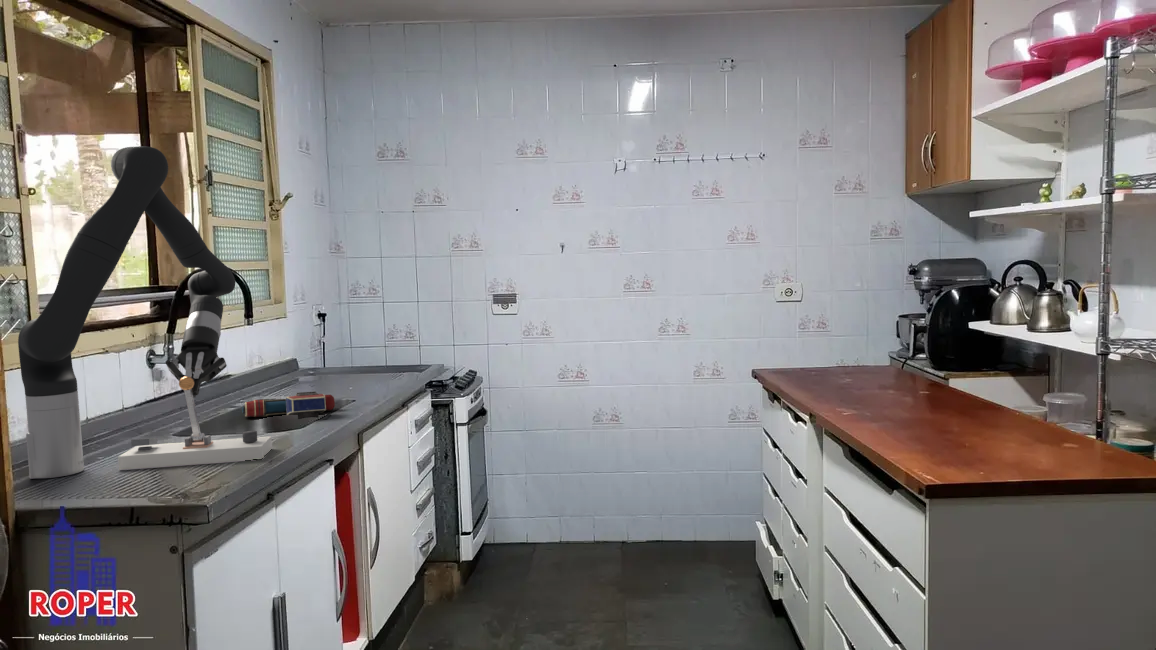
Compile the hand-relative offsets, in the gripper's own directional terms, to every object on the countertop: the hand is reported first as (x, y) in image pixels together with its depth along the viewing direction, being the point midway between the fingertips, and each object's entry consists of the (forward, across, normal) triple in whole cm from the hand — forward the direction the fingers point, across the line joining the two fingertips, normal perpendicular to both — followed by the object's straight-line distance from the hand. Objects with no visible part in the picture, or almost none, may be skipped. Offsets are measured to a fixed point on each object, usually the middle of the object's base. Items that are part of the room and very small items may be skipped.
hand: (190, 395), depth 170 cm
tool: (-25, +12, +48) cm, 55 cm away
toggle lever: (+5, 0, +9) cm, 10 cm away
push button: (+6, +11, +10) cm, 16 cm away
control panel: (+9, 0, +12) cm, 15 cm away
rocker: (+5, -11, +9) cm, 15 cm away
